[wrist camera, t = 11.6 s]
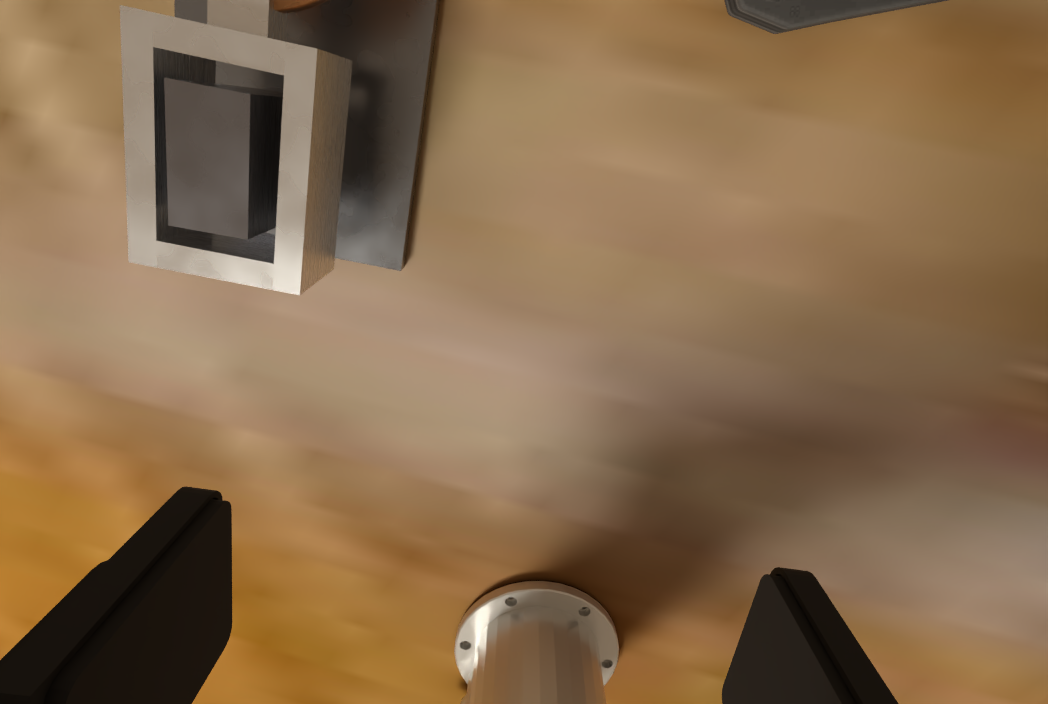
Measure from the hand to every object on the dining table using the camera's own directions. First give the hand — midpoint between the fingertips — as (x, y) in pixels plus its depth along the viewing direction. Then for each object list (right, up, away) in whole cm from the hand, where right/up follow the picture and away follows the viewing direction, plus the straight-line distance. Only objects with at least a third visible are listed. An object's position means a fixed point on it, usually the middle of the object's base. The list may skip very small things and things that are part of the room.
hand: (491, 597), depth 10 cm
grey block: (-12, +15, +22) cm, 30 cm away
